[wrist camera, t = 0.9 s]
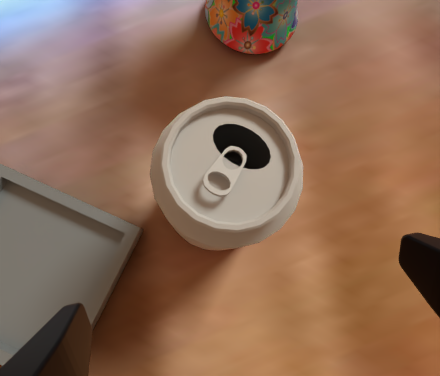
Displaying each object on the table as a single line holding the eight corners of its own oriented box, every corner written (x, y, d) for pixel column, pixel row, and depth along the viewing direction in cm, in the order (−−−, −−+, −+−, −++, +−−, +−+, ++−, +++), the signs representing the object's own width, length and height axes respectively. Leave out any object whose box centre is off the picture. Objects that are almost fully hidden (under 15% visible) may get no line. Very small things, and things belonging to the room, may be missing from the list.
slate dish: (66, 382, 22) (57, 391, 20) (-83, 312, 22) (-103, 316, 20) (143, 229, 24) (140, 227, 23) (9, 168, 24) (-3, 162, 23)
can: (276, 189, 26) (345, 135, 14) (230, 269, 24) (264, 283, 12) (200, 142, 26) (204, 51, 14) (149, 218, 24) (107, 185, 13)
